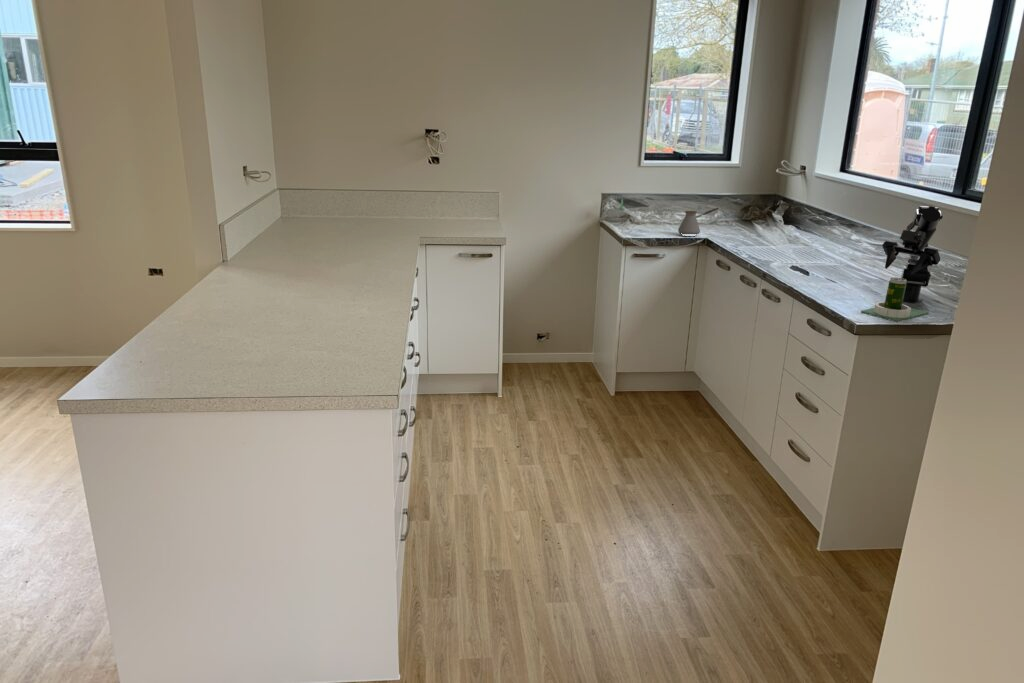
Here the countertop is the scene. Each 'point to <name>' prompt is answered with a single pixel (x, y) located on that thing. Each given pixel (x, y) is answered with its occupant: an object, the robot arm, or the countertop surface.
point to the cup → (892, 311)
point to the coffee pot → (691, 222)
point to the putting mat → (912, 314)
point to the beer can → (895, 293)
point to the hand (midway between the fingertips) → (898, 270)
